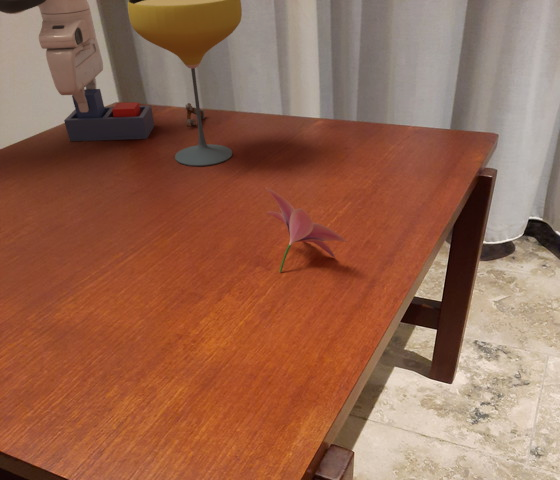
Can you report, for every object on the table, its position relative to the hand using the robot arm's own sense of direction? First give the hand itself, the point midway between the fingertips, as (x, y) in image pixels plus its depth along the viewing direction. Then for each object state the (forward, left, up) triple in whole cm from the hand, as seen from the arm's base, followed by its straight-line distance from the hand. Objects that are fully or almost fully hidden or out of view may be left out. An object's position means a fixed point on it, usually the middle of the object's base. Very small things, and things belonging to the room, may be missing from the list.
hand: (89, 107), depth 113 cm
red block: (+7, 0, -4) cm, 9 cm away
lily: (+43, -55, -6) cm, 70 cm away
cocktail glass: (+25, -15, -6) cm, 29 cm away
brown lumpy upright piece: (+21, +5, -6) cm, 22 cm away
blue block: (0, 0, -2) cm, 2 cm away
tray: (+4, 0, -5) cm, 6 cm away
